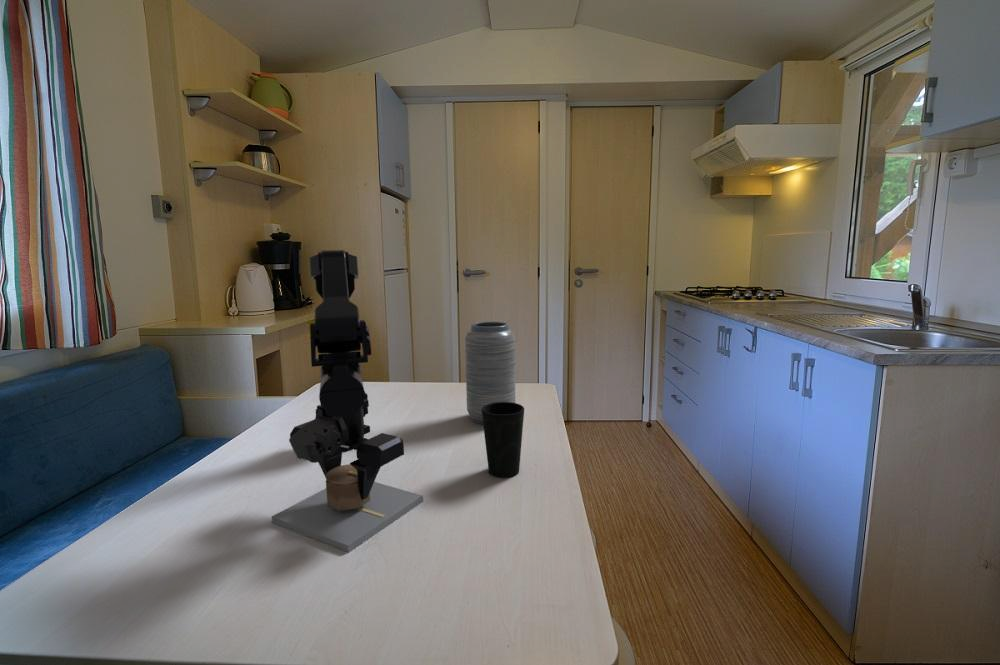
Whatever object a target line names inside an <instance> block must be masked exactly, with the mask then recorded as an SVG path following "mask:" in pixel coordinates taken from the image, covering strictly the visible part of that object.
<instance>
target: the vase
mask: <svg viewBox="0 0 1000 665" xmlns="http://www.w3.org/2000/svg"><path fill="white" fill-rule="evenodd" d="M515 342H516V338H515V334H514V333H513V332H512V330H511V329H509V324H508V323H507V322H504V321H481V322H474V323H471V325H470V329H469V331H468V332H467V333H466V335H465V338H464V349H465V352H464V353H465V391H466V393H465V394H466V410H467V413H468V415H469V416H470V417H471V418H472V419H473V421H474V422H475V423H476V424H481V425H483V418H482V410H481V409H482V407H484V406H485V405H487V404H491V403H496V402H511V403H516V402H517V401H516V344H515Z"/></svg>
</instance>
